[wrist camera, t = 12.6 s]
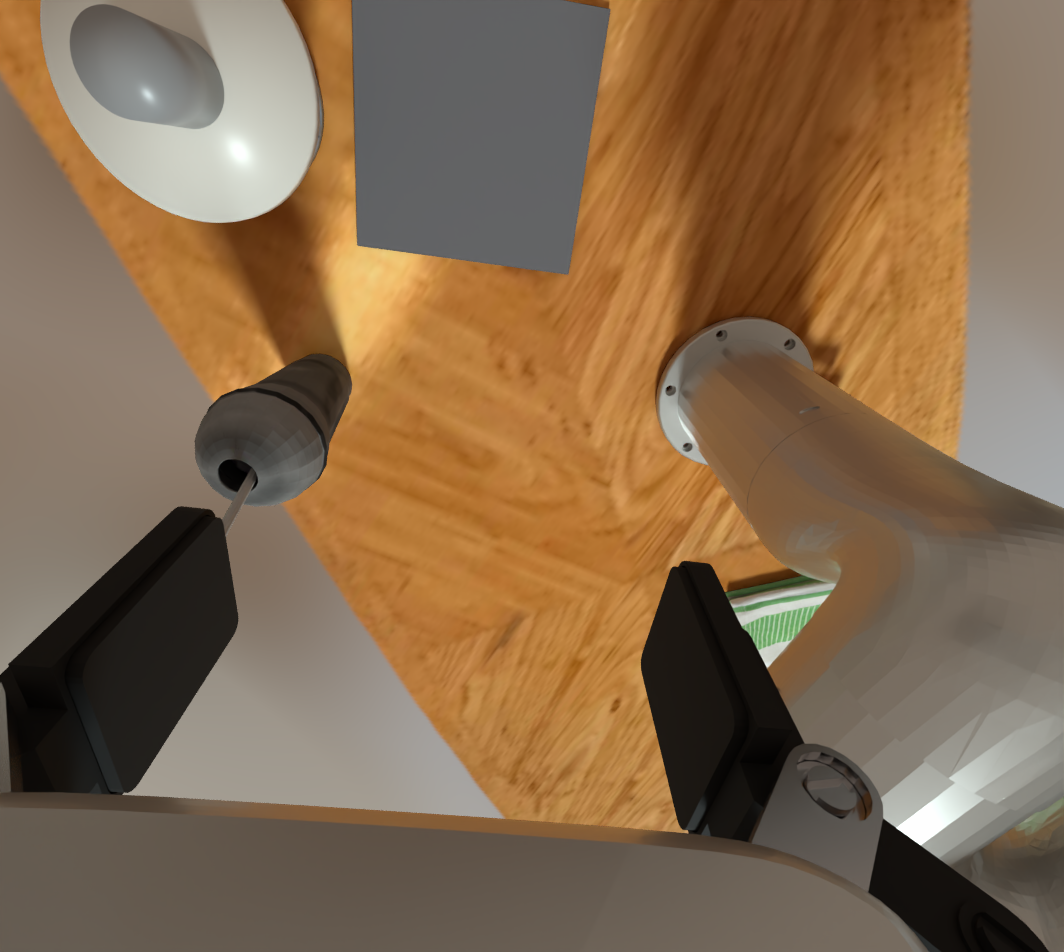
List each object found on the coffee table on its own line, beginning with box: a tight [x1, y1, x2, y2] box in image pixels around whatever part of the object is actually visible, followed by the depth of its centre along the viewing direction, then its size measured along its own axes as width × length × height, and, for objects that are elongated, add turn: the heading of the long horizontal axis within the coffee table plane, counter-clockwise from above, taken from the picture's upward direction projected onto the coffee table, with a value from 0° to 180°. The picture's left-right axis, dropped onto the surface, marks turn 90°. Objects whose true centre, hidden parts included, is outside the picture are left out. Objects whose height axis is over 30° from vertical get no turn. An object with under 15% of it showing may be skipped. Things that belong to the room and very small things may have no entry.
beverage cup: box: [195, 354, 352, 536], centre depth 34 cm, size 7×7×20 cm
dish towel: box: [725, 576, 836, 668], centre depth 59 cm, size 18×23×3 cm
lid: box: [40, 0, 320, 223], centre depth 26 cm, size 13×13×6 cm
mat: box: [352, 0, 610, 274], centre depth 35 cm, size 15×15×1 cm
